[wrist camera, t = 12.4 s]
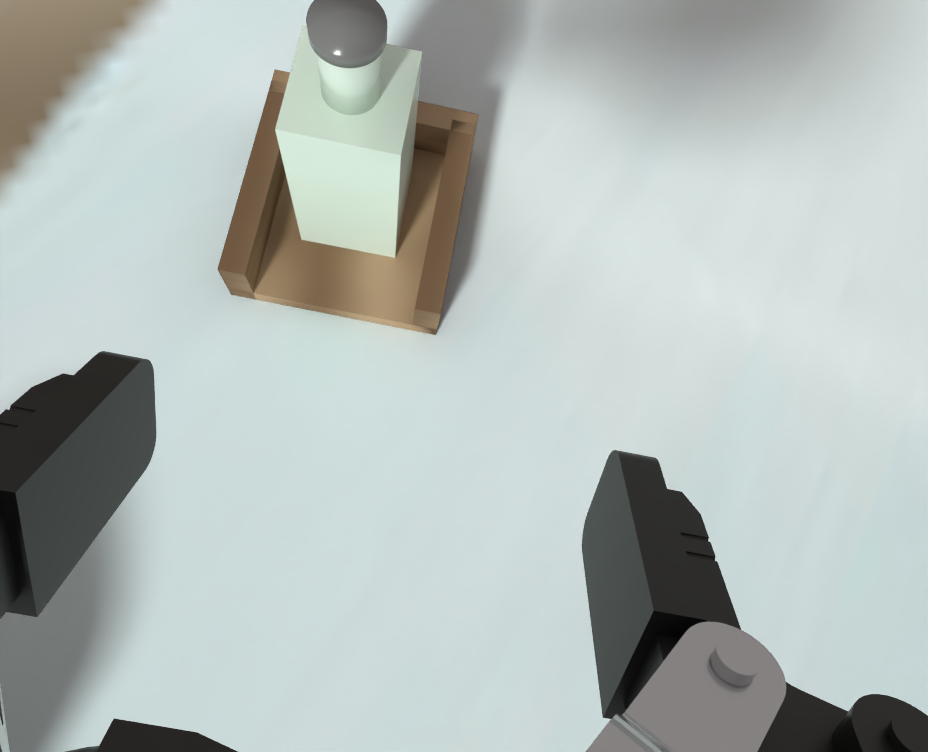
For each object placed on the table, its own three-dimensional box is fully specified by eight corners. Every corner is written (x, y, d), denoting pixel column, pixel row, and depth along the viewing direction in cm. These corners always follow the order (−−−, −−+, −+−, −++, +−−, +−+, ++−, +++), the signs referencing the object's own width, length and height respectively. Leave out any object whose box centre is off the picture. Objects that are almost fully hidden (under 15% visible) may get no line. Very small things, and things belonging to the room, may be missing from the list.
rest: (470, 148, 37) (478, 114, 34) (435, 334, 34) (440, 314, 31) (283, 108, 36) (274, 69, 34) (231, 294, 34) (217, 269, 31)
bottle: (411, 175, 35) (428, -20, 24) (395, 257, 34) (404, 96, 22) (321, 157, 35) (292, -50, 23) (301, 239, 34) (259, 65, 22)
